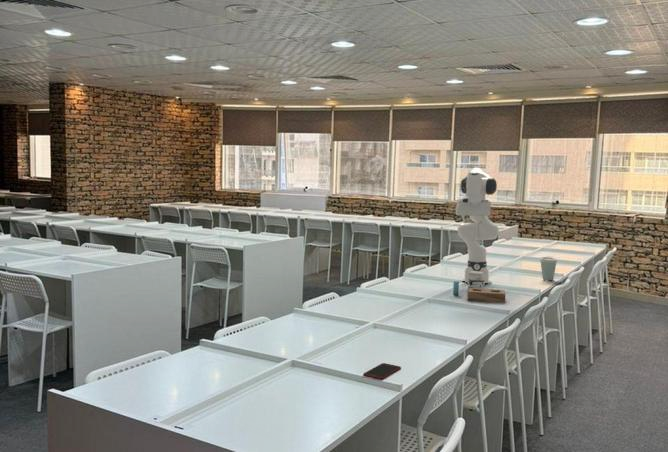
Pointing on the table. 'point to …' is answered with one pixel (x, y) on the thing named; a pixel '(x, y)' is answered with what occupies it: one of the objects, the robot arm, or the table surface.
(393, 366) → the cell phone
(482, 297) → the block
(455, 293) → the pin
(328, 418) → the table surface
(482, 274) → the ink box
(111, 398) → the table surface
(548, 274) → the disposable coffee cup
